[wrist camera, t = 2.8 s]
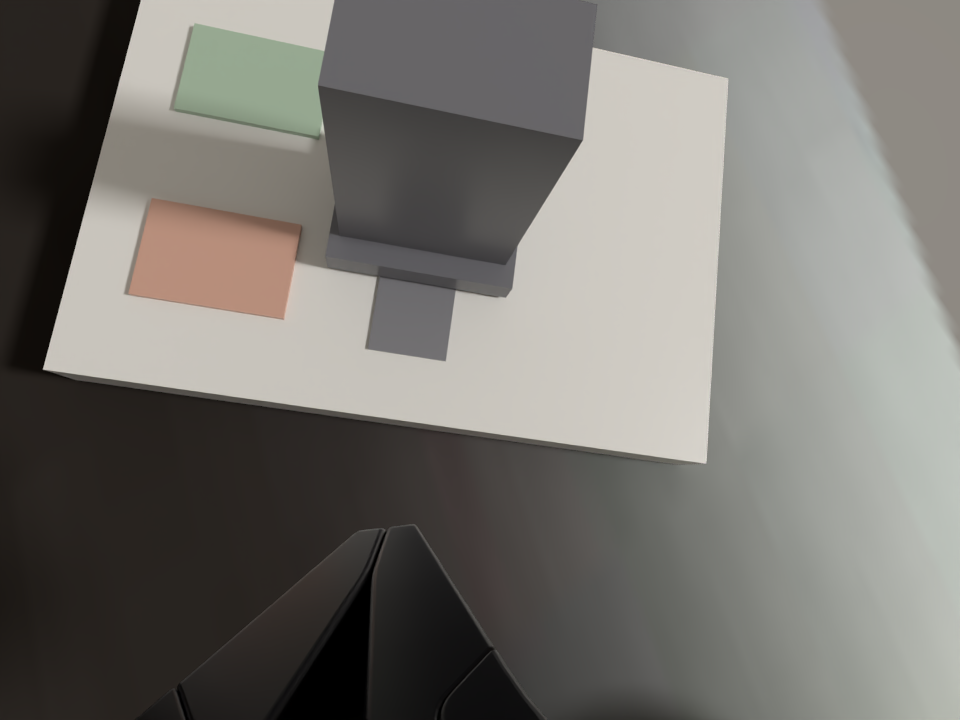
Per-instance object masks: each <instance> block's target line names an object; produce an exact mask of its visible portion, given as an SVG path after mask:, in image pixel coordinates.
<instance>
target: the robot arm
mask: <svg viewBox="0 0 960 720" xmlns="http://www.w3.org/2000/svg"><path fill="white" fill-rule="evenodd" d="M177 690H178V691H177ZM177 690H176V689H171V690H169V691H168V692H167V693H166V694H165V695H164V696H162V697H161V698H160V699H159V700H158V701H157V702H155V703H154V704H153V705H152V706H151V707H150V708H148V709H147V710H146V711H145V712H144V713H142V714H141V715H140V716H139V717H138V718H136V719H135V720H548V719H547V718H546V717H545V716H544V714H543V713H542V712H541V711H540V710H539V709H538V707H537V706H536V705H535V704H534V703H533V701H532V700H531V699H530V698H529V696H528V695H527V693H526V692H525V691H524V689H523V688H522V686H521V685H520V683H519V682H518V681H517V679H516V678H515V676H514V675H513V674H512V672H511V671H510V669H509V668H508V666H507V665H506V663H505V662H504V660H503V658H502V657H501V655H500V654H499V652H498V651H496V649H495V647H494V646H493V644H492V643H491V641H490V639H489V638H488V636H487V635H486V633H485V632H484V630H483V629H482V627H481V625H480V624H479V622H478V621H477V619H476V618H475V616H474V614H473V613H472V611H471V610H470V608H469V607H468V605H467V603H466V602H465V600H464V599H463V597H462V596H461V594H460V593H459V591H458V589H457V588H456V586H455V585H454V583H453V582H452V580H451V578H450V577H449V575H448V574H447V572H446V571H445V569H444V567H443V566H442V564H441V563H440V561H439V560H438V558H437V557H436V555H435V553H434V552H433V550H432V549H431V547H430V546H429V544H428V542H427V541H426V539H425V538H424V536H423V535H422V533H421V531H420V530H419V528H418V527H417V526H416V525H414V524H411V525H403V526H395V527H390V528H389V529H388V530H387V531H386V530H385V529H383V528H378V529H369V530H360V531H358V532H356V533H355V534H353V535H352V536H351V537H350V538H349V539H348V540H346V541H345V542H344V543H343V544H342V545H341V546H339V547H338V548H337V549H336V550H335V551H334V552H332V553H331V554H330V555H329V556H328V557H327V558H325V559H324V560H323V561H322V562H321V563H319V564H318V565H317V566H316V567H315V568H314V569H312V570H311V571H310V572H309V573H308V574H307V575H305V576H304V577H303V578H302V579H301V580H300V581H298V582H297V583H296V584H295V585H294V586H293V587H291V588H290V589H289V590H288V591H287V592H286V593H284V594H283V595H282V596H281V597H280V598H279V599H277V600H276V601H275V602H274V603H273V604H272V605H270V606H269V607H268V608H267V609H266V610H265V611H263V612H262V613H261V614H260V615H259V616H258V617H256V618H255V619H254V620H253V621H252V622H251V623H249V624H248V625H247V626H246V627H245V628H244V629H242V630H241V631H240V632H239V633H238V634H237V635H235V636H234V637H233V638H232V639H231V640H230V641H228V642H227V643H226V644H225V645H224V646H223V647H221V648H220V649H219V650H218V651H217V652H216V653H214V654H213V655H212V656H211V657H210V658H209V659H207V660H206V661H205V662H204V663H203V664H202V665H200V666H199V667H198V668H197V669H196V670H195V671H193V672H192V673H191V674H190V675H189V676H187V677H186V678H185V679H184V680H183V681H182V682H180V683H179V684H178V686H177Z"/></svg>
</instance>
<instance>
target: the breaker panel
mask: <svg viewBox="0 0 960 720" xmlns="http://www.w3.org/2000/svg"><path fill="white" fill-rule="evenodd" d="M333 5H334V0H141V2H140V6H139V10H138V13H137V17H136V21H135V25H134V29H133V32H132V36H131V40H130V44H129V47H128V51H127V55H126V59H125V62H124V66H123V70H122V74H121V77H120V81H119V85H118V89H117V93H116V96H115V100H114V104H113V108H112V111H111V115H110V119H109V123H108V126H107V130H106V134H105V138H104V141H103V145H102V149H101V153H100V157H99V160H98V164H97V168H96V172H95V175H94V179H93V183H92V187H91V190H90V194H89V198H88V202H87V205H86V209H85V213H84V217H83V221H82V224H81V228H80V232H79V236H78V239H77V243H76V247H75V251H74V254H73V258H72V262H71V266H70V269H69V273H68V277H67V281H66V285H65V288H64V292H63V296H62V300H61V303H60V307H59V311H58V315H57V318H56V322H55V326H54V330H53V333H52V337H51V341H50V345H49V349H48V352H47V356H46V360H45V364H44V367H43V370H46V371H49V372H52V373H55V374H58V375H61V376H65V377H68V378H71V379H74V380H80V381H87V382H94V383H101V384H108V385H115V386H122V387H129V388H136V389H144V390H151V391H158V392H165V393H172V394H179V395H186V396H193V397H200V398H207V399H215V400H222V401H229V402H236V403H243V404H250V405H257V406H264V407H271V408H278V409H285V410H293V411H300V412H307V413H314V414H321V415H328V416H335V417H342V418H349V419H356V420H364V421H371V422H378V423H385V424H392V425H399V426H406V427H413V428H420V429H427V430H435V431H442V432H449V433H456V434H463V435H470V436H477V437H484V438H491V439H498V440H506V441H513V442H520V443H527V444H534V445H541V446H548V447H555V448H562V449H569V450H577V451H584V452H591V453H598V454H605V455H612V456H619V457H626V458H633V459H640V460H647V461H655V462H662V463H669V464H676V465H685V464H706V460H707V442H708V425H709V407H710V390H711V372H712V355H713V337H714V320H715V302H716V285H717V267H718V250H719V232H720V215H721V197H722V180H723V162H724V145H725V127H726V110H727V93H728V78H724V77H719V76H715V75H711V74H706V73H702V72H697V71H693V70H689V69H684V68H680V67H676V66H671V65H667V64H662V63H658V62H654V61H649V60H645V59H640V58H636V57H632V56H627V55H623V54H619V53H614V52H610V51H605V50H601V49H597V48H593V50H592V59H591V69H590V79H589V88H588V98H587V107H586V117H585V126H584V136H583V141H582V143H581V144H580V146H579V148H578V149H577V151H576V152H575V154H574V156H573V157H572V159H571V161H570V162H569V164H568V165H567V167H566V169H565V170H564V172H563V173H562V175H561V177H560V178H559V180H558V181H557V183H556V185H555V186H554V188H553V189H552V191H551V193H550V194H549V196H548V198H547V199H546V201H545V202H544V204H543V206H542V207H541V209H540V210H539V212H538V214H537V215H536V217H535V218H534V220H533V222H532V223H531V225H530V227H529V228H528V230H527V231H526V233H525V235H524V236H523V238H522V239H521V241H520V243H519V244H518V247H517V255H516V263H515V271H514V279H513V288H512V290H511V291H510V293H509V294H508V295H507V297H506V298H505V297H499V296H493V295H487V294H481V293H475V292H469V291H464V290H458V289H452V288H446V287H440V286H434V285H429V284H423V283H417V282H411V281H405V280H399V279H393V278H388V277H382V276H376V275H370V274H364V273H358V272H353V271H347V270H341V269H335V268H329V267H327V262H326V258H325V255H326V249H327V244H328V238H329V233H330V227H331V222H332V217H333V211H334V206H335V201H334V194H333V187H332V180H331V173H330V166H329V159H328V152H327V146H326V139H325V132H324V125H323V118H322V111H321V104H320V98H319V91H318V81H319V76H320V71H321V66H322V61H323V56H324V51H325V46H326V41H327V36H328V31H329V25H330V20H331V15H332V10H333Z"/></svg>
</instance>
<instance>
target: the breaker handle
mask: <svg viewBox="0 0 960 720" xmlns="http://www.w3.org/2000/svg"><path fill="white" fill-rule="evenodd" d="M596 12H597V4H593V3H589V2H585V1H581V0H334V5H333V10H332V15H331V20H330V25H329V31H328V36H327V41H326V46H325V51H324V56H323V61H322V66H321V71H320V76H319V81H318V91H319V98H320V104H321V111H322V118H323V125H324V132H325V139H326V146H327V152H328V159H329V166H330V173H331V180H332V187H333V194H334V201H335V206H334V211H333V217H332V222H331V227H330V233H329V238H328V244H327V249H326V255H325V258H326V262H327V267H329V268H335V269H341V270H347V271H353V272H358V273H364V274H370V275H376V276H382V277H388V278H393V279H399V280H405V281H411V282H417V283H423V284H429V285H434V286H440V287H446V288H452V289H458V290H464V291H469V292H475V293H481V294H487V295H493V296H499V297H505V298H506V297H507V295H508V294H509V293H510V291H511V290H512V288H513V279H514V271H515V263H516V255H517V247H518V244H519V243H520V241H521V239H522V238H523V236H524V235H525V233H526V231H527V230H528V228H529V227H530V225H531V223H532V222H533V220H534V218H535V217H536V215H537V214H538V212H539V210H540V209H541V207H542V206H543V204H544V202H545V201H546V199H547V198H548V196H549V194H550V193H551V191H552V189H553V188H554V186H555V185H556V183H557V181H558V180H559V178H560V177H561V175H562V173H563V172H564V170H565V169H566V167H567V165H568V164H569V162H570V161H571V159H572V157H573V156H574V154H575V152H576V151H577V149H578V148H579V146H580V144H581V143H582V141H583V136H584V126H585V117H586V107H587V98H588V88H589V79H590V69H591V59H592V50H593V40H594V31H595V21H596Z"/></svg>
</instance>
